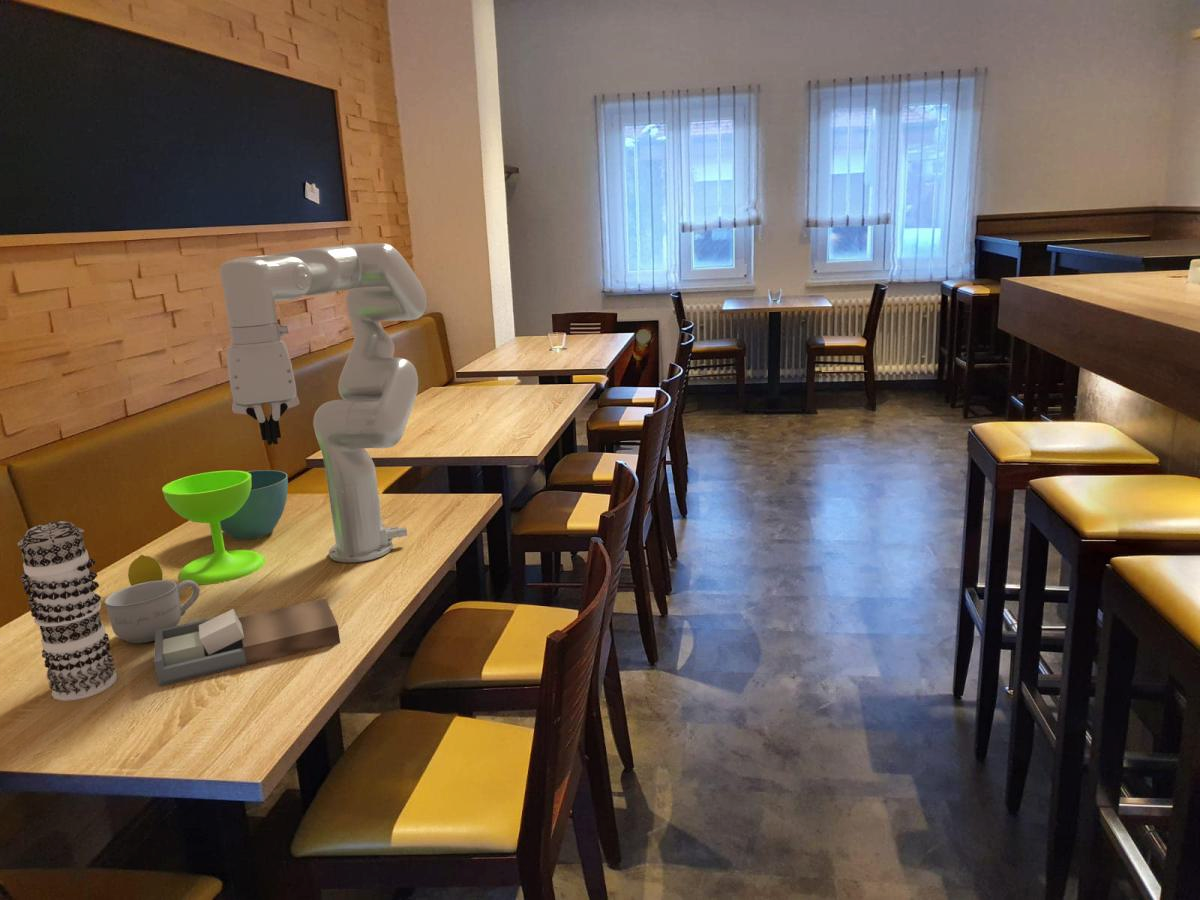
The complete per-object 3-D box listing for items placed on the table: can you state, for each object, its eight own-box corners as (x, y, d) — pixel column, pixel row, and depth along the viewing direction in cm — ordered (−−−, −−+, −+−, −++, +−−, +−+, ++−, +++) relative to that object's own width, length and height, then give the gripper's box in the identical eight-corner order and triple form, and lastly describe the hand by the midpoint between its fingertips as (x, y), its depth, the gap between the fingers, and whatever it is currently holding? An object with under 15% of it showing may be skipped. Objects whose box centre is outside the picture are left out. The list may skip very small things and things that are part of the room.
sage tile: (204, 648, 136) (201, 630, 135) (206, 662, 131) (202, 644, 130) (166, 657, 134) (162, 639, 133) (166, 672, 129) (162, 654, 128)
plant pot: (190, 541, 188) (180, 488, 185) (260, 516, 203) (252, 466, 200) (242, 553, 179) (233, 497, 175) (312, 526, 193) (304, 474, 190)
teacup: (112, 656, 136) (102, 610, 134) (114, 630, 146) (105, 587, 144) (207, 634, 142) (199, 589, 140) (203, 610, 152) (195, 568, 150)
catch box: (240, 634, 141) (236, 612, 140) (246, 665, 131) (242, 641, 130) (160, 653, 136) (155, 630, 135) (159, 686, 126) (154, 662, 125)
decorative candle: (97, 665, 134) (63, 513, 127) (133, 677, 129) (99, 520, 123) (36, 693, 126) (-4, 533, 120) (71, 707, 121) (32, 542, 115)
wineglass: (281, 554, 177) (268, 470, 172) (232, 586, 162) (216, 495, 157) (214, 552, 181) (199, 470, 176) (160, 582, 166) (142, 493, 161)
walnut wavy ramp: (328, 614, 147) (325, 598, 146) (340, 642, 137) (337, 624, 136) (240, 634, 141) (237, 617, 141) (246, 665, 131) (243, 647, 130)
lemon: (152, 602, 157) (144, 561, 154) (126, 601, 158) (117, 560, 156) (172, 589, 162) (164, 550, 160) (147, 588, 163) (138, 549, 161)
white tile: (241, 624, 138) (233, 608, 137) (244, 637, 133) (235, 621, 132) (207, 640, 136) (198, 625, 135) (208, 655, 131) (199, 639, 130)
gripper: (299, 329, 148) (314, 432, 153) (205, 338, 142) (223, 445, 147) (305, 333, 142) (320, 440, 146) (207, 342, 136) (226, 454, 140)
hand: (272, 442), depth 147 cm, fingers closed
